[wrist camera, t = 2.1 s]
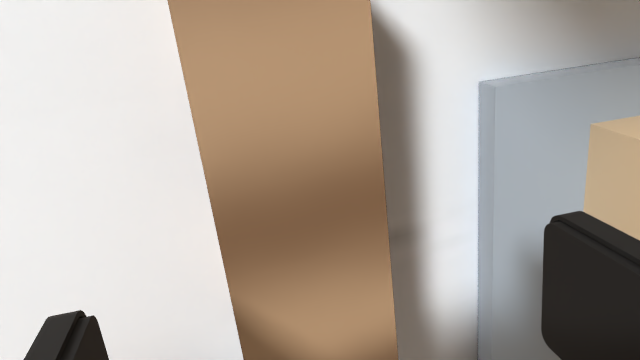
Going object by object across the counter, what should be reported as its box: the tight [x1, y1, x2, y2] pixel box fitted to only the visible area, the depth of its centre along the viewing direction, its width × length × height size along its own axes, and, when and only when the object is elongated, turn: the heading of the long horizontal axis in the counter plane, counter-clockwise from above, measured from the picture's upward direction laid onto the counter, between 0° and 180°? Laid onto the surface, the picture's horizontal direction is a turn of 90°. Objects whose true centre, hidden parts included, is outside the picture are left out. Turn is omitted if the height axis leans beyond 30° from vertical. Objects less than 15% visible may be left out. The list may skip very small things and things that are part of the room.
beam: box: [168, 0, 398, 360], centre depth 16 cm, size 14×4×6 cm, turn 7°
